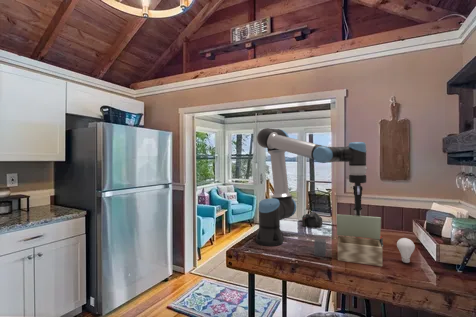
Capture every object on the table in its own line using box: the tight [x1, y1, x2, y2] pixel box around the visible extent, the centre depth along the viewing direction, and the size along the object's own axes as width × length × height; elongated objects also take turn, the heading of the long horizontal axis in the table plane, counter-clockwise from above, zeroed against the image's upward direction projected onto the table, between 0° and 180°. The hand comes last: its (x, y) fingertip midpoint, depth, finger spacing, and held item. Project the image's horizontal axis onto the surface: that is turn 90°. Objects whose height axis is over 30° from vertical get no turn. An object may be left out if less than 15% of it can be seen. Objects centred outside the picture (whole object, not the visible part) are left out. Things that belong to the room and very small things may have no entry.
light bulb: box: [396, 237, 416, 264], centre depth 112 cm, size 7×7×11 cm
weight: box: [313, 237, 327, 258], centre depth 123 cm, size 5×5×7 cm
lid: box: [336, 213, 382, 239], centre depth 121 cm, size 19×11×1 cm
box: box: [337, 235, 383, 267], centre depth 118 cm, size 18×11×8 cm, turn 67°
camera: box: [301, 211, 323, 229], centre depth 170 cm, size 13×10×10 cm
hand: (357, 223), depth 122 cm, fingers closed
